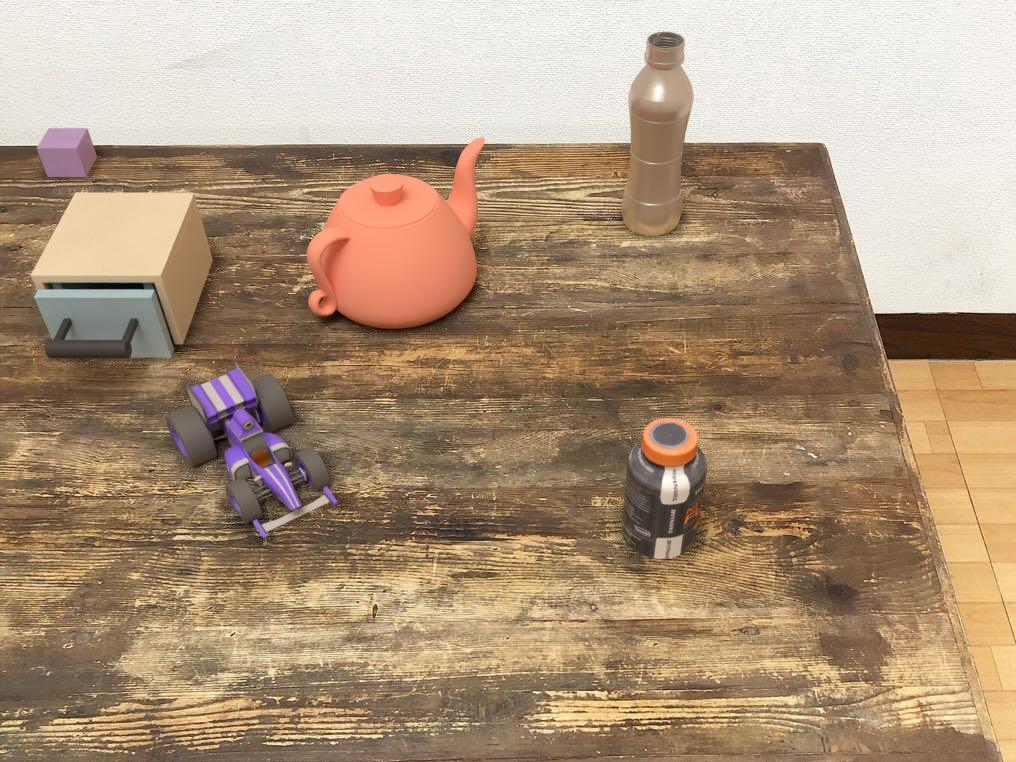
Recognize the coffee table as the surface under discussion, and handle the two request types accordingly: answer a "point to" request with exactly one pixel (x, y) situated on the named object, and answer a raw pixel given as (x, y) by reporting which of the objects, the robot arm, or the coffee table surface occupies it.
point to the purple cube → (67, 152)
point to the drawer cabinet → (132, 248)
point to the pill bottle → (664, 490)
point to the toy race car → (249, 443)
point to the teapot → (397, 249)
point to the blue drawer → (104, 321)
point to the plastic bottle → (657, 137)
